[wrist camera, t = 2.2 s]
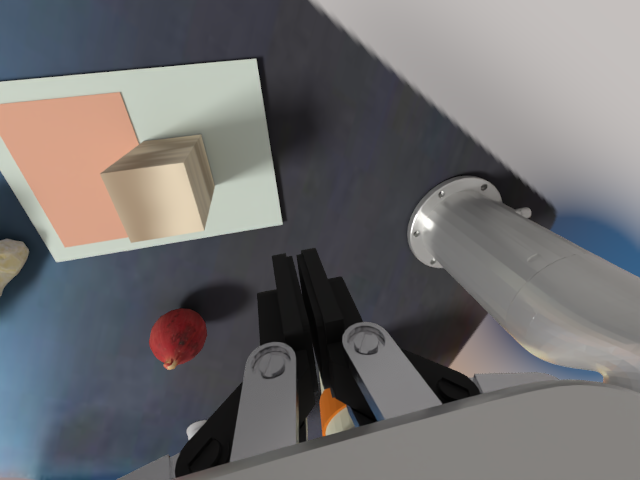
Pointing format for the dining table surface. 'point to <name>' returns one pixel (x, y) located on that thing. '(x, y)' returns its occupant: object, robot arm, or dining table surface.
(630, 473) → the robot arm
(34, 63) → the dining table surface
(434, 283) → the dining table surface
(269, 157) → the mat
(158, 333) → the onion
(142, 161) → the maple block
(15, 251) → the beige rock
